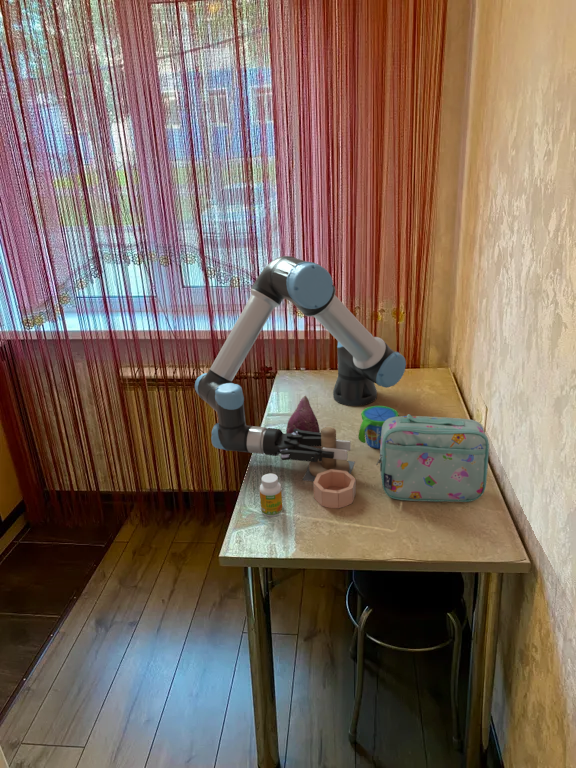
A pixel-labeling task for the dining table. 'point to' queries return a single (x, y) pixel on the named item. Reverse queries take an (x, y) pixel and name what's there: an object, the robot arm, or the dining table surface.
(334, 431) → the paper towel holder
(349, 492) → the bowl
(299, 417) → the vegetable
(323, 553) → the dining table surface
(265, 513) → the supplement bottle
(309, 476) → the mat
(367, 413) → the snack cup
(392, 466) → the lunch box
